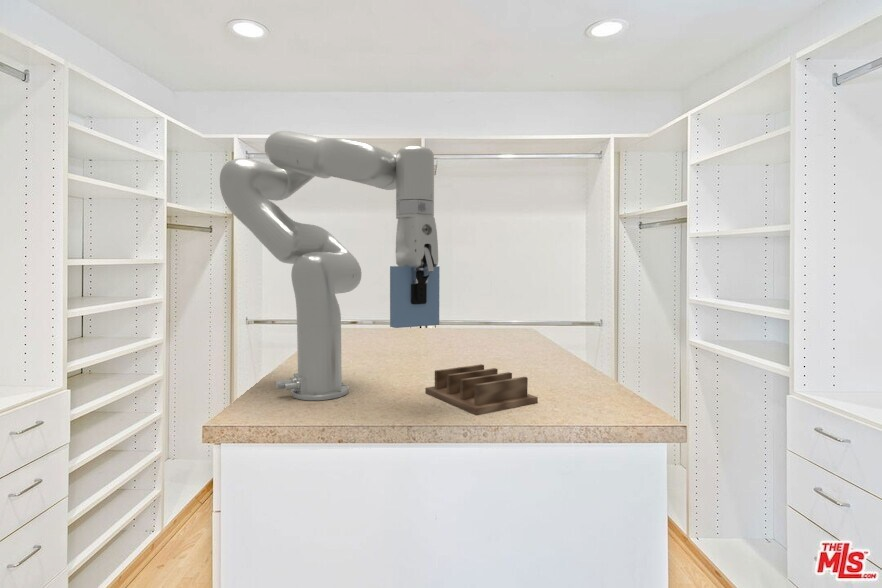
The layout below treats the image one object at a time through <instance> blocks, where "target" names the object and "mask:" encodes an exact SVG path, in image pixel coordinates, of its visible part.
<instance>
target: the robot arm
mask: <svg viewBox="0 0 882 588" xmlns="http://www.w3.org/2000/svg"><path fill="white" fill-rule="evenodd" d="M264 153H265V155H266V157H267V159H268V161H269V162H270V163H267V162H263V161H261V160H255V159H250V158H234V159H232V160H229V161H227V162H226V163H225V164H224V165H223V166H222V168H221V171H220V174H219V189H220V193H221V196H222V200H223V201H224V203H225V205H226V207H227V208H228V210H229V211H230V212H231V213H232V215H234V217H236V219H238V220H239V221H240V222H241V224H242V225H244V226H245V227H246V228H247V229H248V230H249V231H250V232H251V233H252V234H253V235H254V236H255V237H256V238H257V240H258V241H259V242H260V244H262V245H263V246H264V247H265V248H266V249H267V250H268V252H270V254H271V255H272V256H274V258H276V260H278V261H279V262H282V263H283V264H290V265H292V268H291V283H292V288H293V293H294V298H295V305H296V306H295V307H296V332H297V333H296V343H297V346H296V347H297V349H296V350H297V373H293V377H292V376H291V377H290V378H289V379H280V380H275V382H274V384H275V386H274V387H275V390H282V389H284V391H287V390H290V396H291V397H292V398H293V399H297V400H299V401H300V400H301V401H328V400H334V399H339V398H341V397H344V396H346V395H347V394H349V390H350V388H349V386H348V385H347V384H345V383H342V373H343V371H342V370H343V369H342V315H341V314H342V313H341V309H340V304H339V301H338V299H337V296H336V294H346V293H349V292H351V291H354V290H355V289H356V288H357V287H359V285H360V283H361V281H362V268H361V266H360V263H359V261H358V260H357V258H356V257H355V256H354V255H353V254H352V253H351V252H350V251H349V250H348V249H347V248H346V247H345V246H344V245H343V244H342V243H341V242H340V241H339V240H338V239H336V237H335V236H333V234H332V233H330V232H329V231H328V230H326V229H325V228H323V227H321V226H319V225H314V224H310V223H301V222H297V221H295V220H293V219H292V218H291V217H289V216H288V215H287V214H286V213H285V212H284V210H282V209H281V208H280V207H279V206H278V205H277V204H275V203H274V202H273V201H275V202H276V201H283V200H285V199H288V198H289V197H291V196H292V195H294V194H296V192H298V190H300V189H301V188H302V187H304V186H305V185H306V184H307V183H309V182H310V181H311V180H313V179H314V178H315V177H316V178H322V179H329V178H331V177H333V178H337V179H342V180H347V181H350V182H355V183H359V184H363V185H367V186H370V187H371V186H372V187H375V188H378V189H381V190H385V191H391V190H392V191H393V190H395V204H396V205H395V218H396V220H397V224H396V236H395V263H396V266H410V267H411V268H413V283H414V284H411V303H412V304H426V302H427V283H428V277H429V275H430V274H431V273H432V272H433V271H434V267H436V266H438V264H439V242H438V241H439V240H438V231H437V224H436V219H435V216H434V215H435V157H434V152H433V151H432V150H431V149H430V148H428V147H426V146H420V145H409V146H404V147H401V148H399V149H398V150H397V152H396V153H394V152H391V151H387V150H385V149H382V148H380V147H378V146H375V145H373V144H368V143H365V142H359V141H354V140H349V139H343V138H337V137H324V136H317V135H313V134H307V133H301V132H295V131H290V130H289V131H288V130H279V131H275V132H273V133H271V134H270V135H269V136H268V137H267V138H266V140H265V142H264ZM271 163H272V164H271ZM419 266H423V268H418V267H419ZM418 271H420V272H419V274H418Z"/></svg>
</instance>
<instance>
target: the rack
mask: <svg viewBox="0 0 882 588" xmlns="http://www.w3.org/2000/svg"><path fill="white" fill-rule="evenodd" d="M528 379H529V378H528V377H527V376H521V377H520V376H519V377H513V373H512V372H509V371H508V372H502V373H498V368H497V367H494V368H486V369H485V364H483V363H482V364H481V363H480V364H475V365H467V366H459V367H452V368H444V369H436V370H434V386H429V387H427V386H426V387H425V388H424V389H425V394H427V395H429V396H431V397H434V398H436V399H438V400H441V401H443V402H445V403H448V404H449V405H452V406H454V407H456V408H459V409H461V410H463V411H465V412H467V413H470V414H472V415H475V416H478V415H482V414H488V413H492V412H498V411H503V410H507V409H512V408H518V407H522V406H523V407H524V406H528V405H533V404H538V402H539V401H538V399H539V397H538V396H536V395H532V394H529V393H528V381H529V380H528Z"/></svg>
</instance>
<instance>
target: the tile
mask: <svg viewBox="0 0 882 588" xmlns="http://www.w3.org/2000/svg"><path fill="white" fill-rule="evenodd" d="M440 267H441V266H438V265H437V266H436V267H434V271H433V272H432V273H431V274H430V275H429V277H428V283H427V302H426V304H412V303H411V284H414V283H413V268H411V267H410V266H398V265H393V266H391V265H390V266H389V327H390V328H394V329H400V328H401V329H402V328H403V329H404V328H413V327H414V328H415V327H417V328H418V327H428V326H439V325H440ZM418 268H423V266H419V267H418ZM419 272H420V271H418V274H419Z"/></svg>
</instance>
